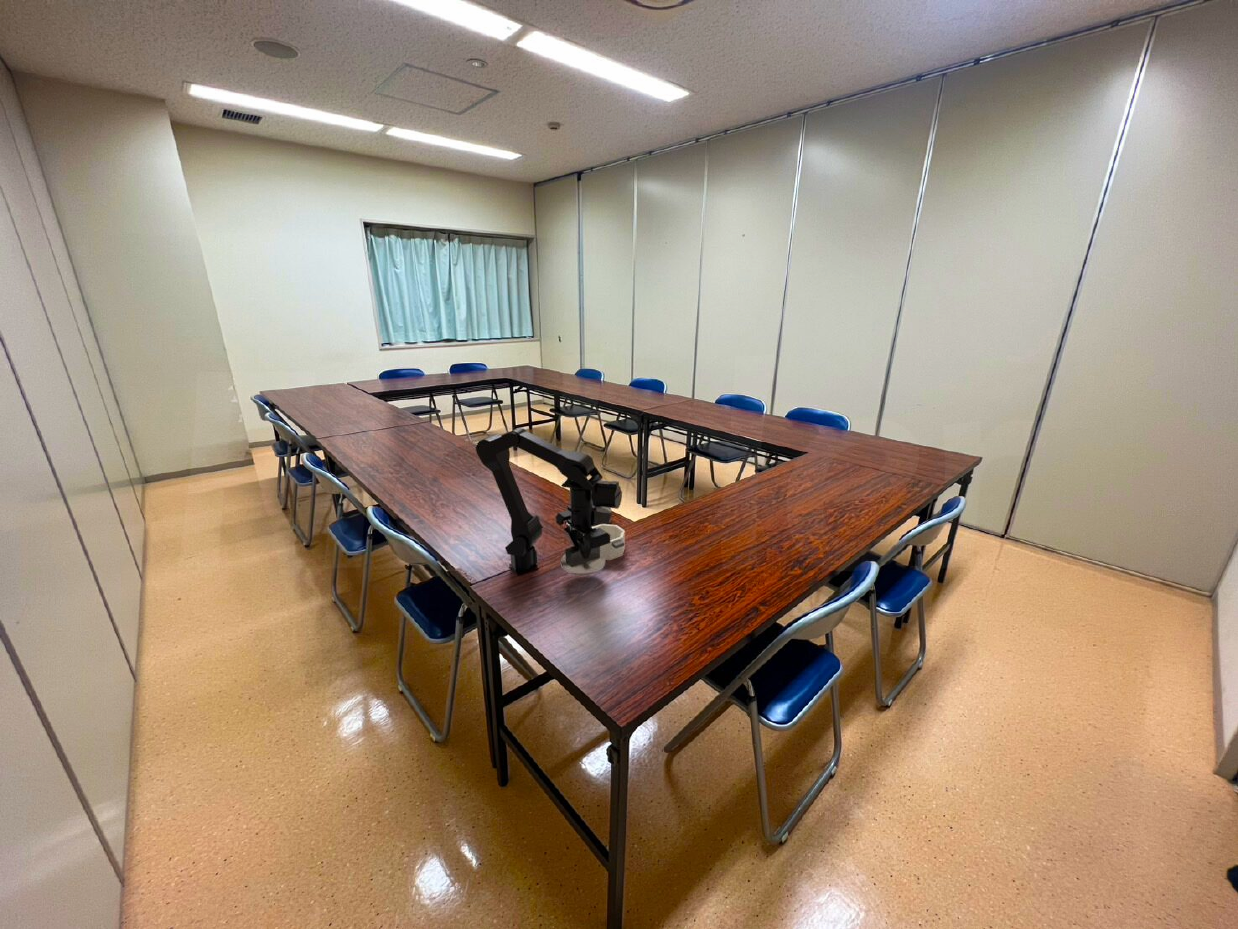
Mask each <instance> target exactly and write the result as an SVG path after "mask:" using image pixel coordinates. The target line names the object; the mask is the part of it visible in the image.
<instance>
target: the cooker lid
mask: <svg viewBox="0 0 1238 929" xmlns="http://www.w3.org/2000/svg"><path fill="white" fill-rule="evenodd" d="M564 550H565V551H564V554H563V556H562V557H561V559H560V566H561V568H562V570H564V571H565V572H566V573H568V574H571V575H575V576H588V575H593V574H595V573H598V572H600V571H601V570H602V569H603V568H604V567H605V565H606V560H605V556H604V555H603V554H602V553H601V552H600V547H597V548H594V549H591V552H590V555H589V557H588V559H584V557H583V555H582V552H581V550H580V547H579V545H577V546H571V547H567V548H565V549H564Z"/></svg>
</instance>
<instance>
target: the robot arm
mask: <svg viewBox="0 0 1238 929" xmlns="http://www.w3.org/2000/svg"><path fill="white" fill-rule="evenodd" d="M513 447H516V448H518V449H520V450H522V451H523V452H527V453H528V454H530V455H532V456H534V457H536V458H539V459H540V460H543V461H545V462H547V463H548V464H550V465H552V466H554V467H555V468H557V470H558V471H559V472H560V474H561V475H562V476H564V477H565V478H566V479H565V481H564V482H563V483H561V487H562V488H567V489H569V499H570V500H569V502H570V504H569V505H567V508H566V509H567V510H563V511H561V512H558V513H557V514H556V515H555V523H556V524H557V525H558V526H560V527H562V526H564V524H565V528H563V531H564V532H565V534H566V535H567V537H568V538H569V539H568V540H569V541H570V542H571V543H572V547H574V546H577V545H579V547H580V550H581V552H582V555H583V557H584V559H588V557H589V555H590V552H591V549H594V548H597V547H600V546H603V545H606V544H608V543H610V542H611V540H610V534H608V533H607V532H605V531H604V530H603V529H601V528H598V529H596V528H592V526H597V525H599V524H609V525H610V523H611V521H610V519H611V520H612V515H613V512H612V511H611V512H610V511H609V510H607V509H605V508H603V507H608V508H611V509H616V510H617V509H619V508H620V506H621V503H622V498H623V491H622V489H621V486H620V482H619V481H615V480H613V481H610V480H602V479H603V478H604V477H603V475H602V474H601V473H600V471H599V470H598V468H597V467H596V465H595V462H594V460H593V458H592V456H590V455H589V454H586V453H584V452H580V451H577V450H567V449H563V448H561V447H559V446H557V445H556V444H553V443H551V442H550V441H547V440H545V439H543V438H541V437H539V436H536V435H535V434H534V433H531V432H529V431H527V429H524V428H523V427H517V428H515V429H513V430H511V431H508V432H506V433H504V434H502V435H501V434H499V433H493V434H491V435H489V436H487V437H485V438H482V439H481V440H479V441H478V442H477V444H476V446H475V452H476V455H477V457H478V458H479V460H480V462H481V463H482V465H483V466H484V467H486V468H487V469H488V470H489V471H491V473H492V476H493V478H494V481H495V483H496V485H497V488H498V491H499V493H500V495H501V497H502V500H503V502H504V504H505V508H506V509H507V513H508V514H509V518H510V519H511V521H510V522H511V524H510V534H511V539H512V540H511V541H510V542H509V543H508V545H506V546H505V548H504V549H505V551H506V554H507V555H510V563H509V564H508V566H509V568H510V569H511V570H512V571H513V572H514V573H515V574H516V575H517V576H523V574H528V573H530V572H533V571H535V570H538V569H539V565H537V564H538V552H537V550H536V547H535V546H534V545H535V544H536V543H538V542H537V541H538V540H540V538H541V537H542V535H543V528H544V526H543V525H542V523H541V521H540V517H539V516H538V515H535V516H534V515H532V514H531V513H530V512H529V511H528V508H527V506H526V504H525V501H524V498H523V496H522V494H521V491H520V488H519V485H518V484H517V481H516V478H515V475H514V474H513V471H512V468H511V466H510V465H511V464H510V459H511V458H510V456H511V452H510V448H513ZM589 476H590V478H588V477H589Z"/></svg>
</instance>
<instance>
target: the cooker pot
mask: <svg viewBox="0 0 1238 929" xmlns="http://www.w3.org/2000/svg"><path fill="white" fill-rule="evenodd" d="M592 528H596V529H598V528H601V529H603V530H604V531H605V532H607V533H608V534H610V540H611V542H610V543H608V544H606V545H603V546H600V552H601V553H602V554H603V555H604V556H605V561H612V560H614V559H617V558H619V557H622V556H623V555H624V553H625V552H624V551H625V550H626V530H624V529H623V528H622V527H620V526H619V525H617V524H610V523H609V524H606V523H599V524H598V525H597V526H592Z"/></svg>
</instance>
